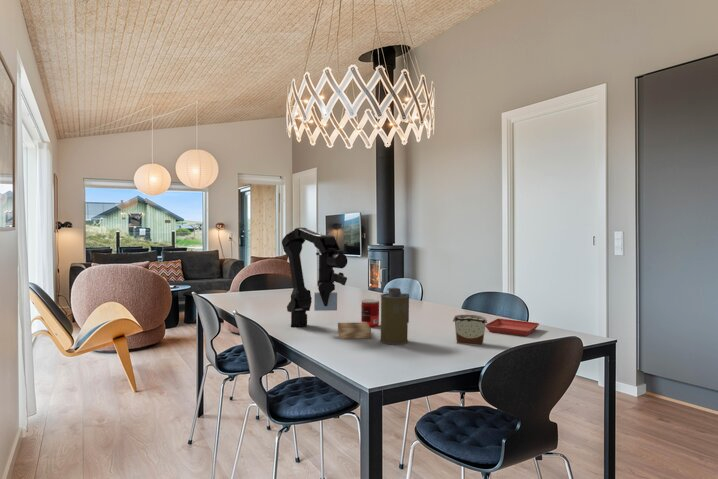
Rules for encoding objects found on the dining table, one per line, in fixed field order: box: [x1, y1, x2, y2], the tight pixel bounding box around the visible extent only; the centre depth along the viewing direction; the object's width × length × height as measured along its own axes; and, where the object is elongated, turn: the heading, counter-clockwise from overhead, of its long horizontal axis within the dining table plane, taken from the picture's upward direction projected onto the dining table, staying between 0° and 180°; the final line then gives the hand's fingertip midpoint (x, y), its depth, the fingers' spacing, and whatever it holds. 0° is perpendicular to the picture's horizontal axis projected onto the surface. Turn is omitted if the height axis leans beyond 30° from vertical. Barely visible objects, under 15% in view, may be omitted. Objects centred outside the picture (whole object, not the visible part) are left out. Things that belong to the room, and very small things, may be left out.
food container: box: [452, 314, 488, 347], centre depth 176 cm, size 12×6×10 cm, turn 71°
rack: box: [337, 321, 372, 340], centre depth 187 cm, size 12×12×4 cm
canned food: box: [360, 298, 380, 328], centre depth 206 cm, size 8×8×11 cm
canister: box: [379, 287, 410, 346], centre depth 177 cm, size 11×10×20 cm
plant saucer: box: [485, 318, 540, 337], centre depth 198 cm, size 18×18×3 cm
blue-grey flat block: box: [313, 291, 338, 312], centre depth 189 cm, size 9×2×7 cm, turn 96°
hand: (325, 305), depth 189 cm, fingers closed on blue-grey flat block, 2 cm apart
